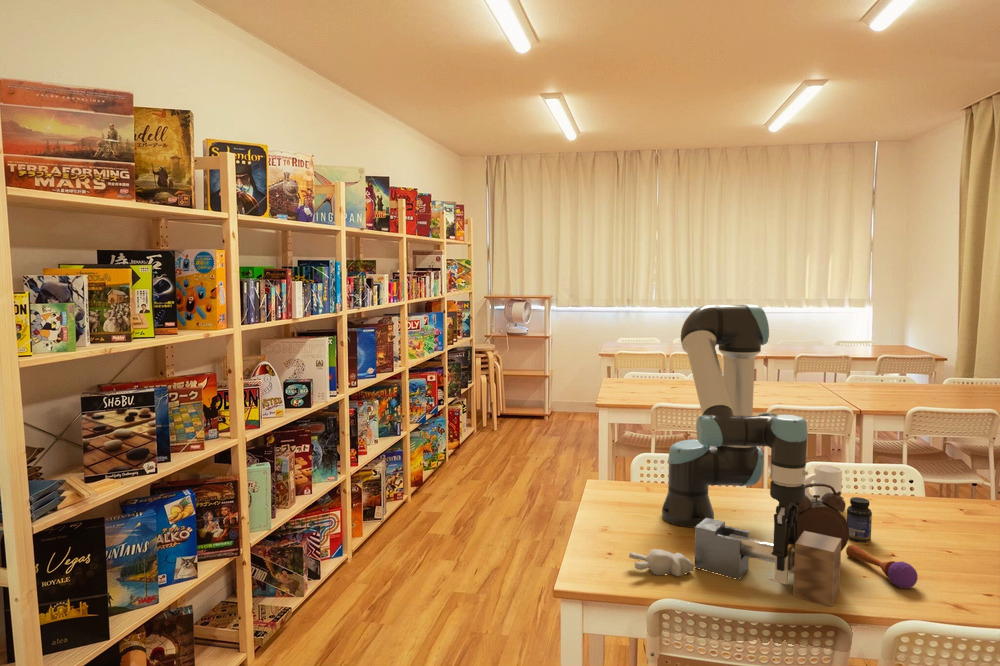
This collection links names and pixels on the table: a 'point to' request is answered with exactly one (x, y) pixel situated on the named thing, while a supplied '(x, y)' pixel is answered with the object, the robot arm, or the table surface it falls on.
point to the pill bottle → (859, 520)
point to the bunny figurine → (663, 562)
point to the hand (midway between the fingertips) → (784, 576)
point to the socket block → (817, 568)
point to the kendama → (888, 568)
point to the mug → (824, 480)
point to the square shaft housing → (719, 548)
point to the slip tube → (763, 550)
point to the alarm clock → (823, 515)
